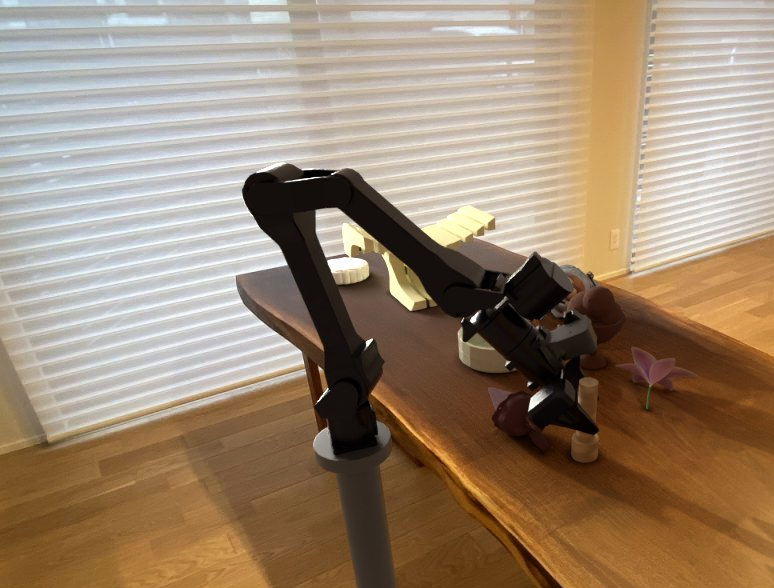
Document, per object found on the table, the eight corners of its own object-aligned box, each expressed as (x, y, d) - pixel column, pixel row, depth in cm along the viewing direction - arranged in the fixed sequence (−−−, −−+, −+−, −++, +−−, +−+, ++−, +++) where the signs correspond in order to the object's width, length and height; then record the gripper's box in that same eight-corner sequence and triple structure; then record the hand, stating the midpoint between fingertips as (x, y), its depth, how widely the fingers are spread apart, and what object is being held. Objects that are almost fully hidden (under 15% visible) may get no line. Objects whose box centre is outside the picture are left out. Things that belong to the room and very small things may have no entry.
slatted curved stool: (466, 273, 157) (463, 202, 148) (496, 292, 145) (495, 216, 136) (351, 295, 144) (340, 219, 135) (373, 319, 132) (363, 236, 123)
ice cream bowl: (630, 357, 115) (637, 280, 108) (605, 382, 107) (611, 301, 99) (579, 344, 120) (582, 270, 112) (551, 367, 112) (553, 289, 104)
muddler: (578, 465, 86) (582, 391, 80) (566, 450, 89) (569, 378, 83) (602, 458, 87) (608, 385, 81) (589, 444, 90) (594, 372, 84)
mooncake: (310, 278, 154) (308, 264, 153) (348, 266, 163) (346, 252, 161) (341, 288, 148) (339, 274, 146) (379, 275, 156) (377, 261, 154)
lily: (702, 412, 100) (706, 353, 100) (661, 411, 92) (666, 346, 92) (640, 407, 108) (644, 352, 108) (598, 405, 100) (602, 346, 100)
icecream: (464, 382, 94) (518, 435, 84) (504, 360, 96) (562, 409, 86) (474, 414, 98) (526, 468, 88) (512, 392, 101) (567, 442, 90)
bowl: (474, 381, 107) (473, 355, 105) (449, 348, 119) (448, 324, 117) (548, 365, 112) (549, 341, 110) (518, 335, 124) (517, 312, 121)
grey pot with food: (621, 315, 132) (617, 270, 120) (576, 345, 130) (567, 302, 119) (580, 277, 140) (573, 232, 129) (537, 305, 138) (525, 261, 127)
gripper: (557, 331, 69) (647, 420, 73) (565, 276, 85) (638, 351, 89) (490, 389, 74) (578, 468, 78) (509, 325, 90) (581, 394, 94)
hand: (596, 416), depth 85 cm, fingers open, 8 cm apart
